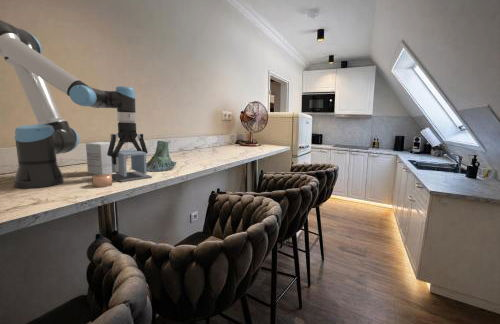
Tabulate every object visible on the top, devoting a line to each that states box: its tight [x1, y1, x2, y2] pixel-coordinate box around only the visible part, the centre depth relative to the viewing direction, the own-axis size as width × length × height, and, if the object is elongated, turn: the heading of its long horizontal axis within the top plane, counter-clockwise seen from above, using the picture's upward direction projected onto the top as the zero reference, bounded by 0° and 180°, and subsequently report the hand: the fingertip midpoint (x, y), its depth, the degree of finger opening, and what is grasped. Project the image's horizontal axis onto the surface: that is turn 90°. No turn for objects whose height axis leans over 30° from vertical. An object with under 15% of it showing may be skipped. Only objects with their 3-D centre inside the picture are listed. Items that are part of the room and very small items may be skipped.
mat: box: [110, 170, 153, 183], centre depth 116 cm, size 16×14×1 cm
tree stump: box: [146, 140, 177, 173], centre depth 139 cm, size 18×20×18 cm
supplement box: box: [85, 141, 115, 175], centre depth 122 cm, size 9×9×15 cm
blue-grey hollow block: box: [111, 148, 148, 177], centre depth 115 cm, size 14×10×10 cm
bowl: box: [92, 173, 113, 188], centre depth 100 cm, size 7×7×4 cm
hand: (129, 169), depth 116 cm, fingers closed on blue-grey hollow block, 10 cm apart
